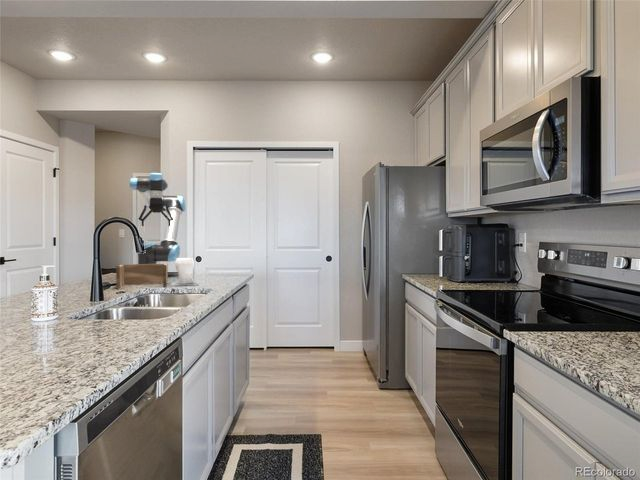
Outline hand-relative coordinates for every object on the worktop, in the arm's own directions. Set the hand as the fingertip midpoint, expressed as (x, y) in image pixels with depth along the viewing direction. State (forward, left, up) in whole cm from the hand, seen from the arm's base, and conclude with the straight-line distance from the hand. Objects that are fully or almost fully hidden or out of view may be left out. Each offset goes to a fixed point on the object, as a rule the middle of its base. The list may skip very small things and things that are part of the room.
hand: (156, 231), depth 237 cm
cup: (+18, +17, -31) cm, 40 cm away
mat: (+18, +17, -32) cm, 40 cm away
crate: (+17, -6, -32) cm, 36 cm away
